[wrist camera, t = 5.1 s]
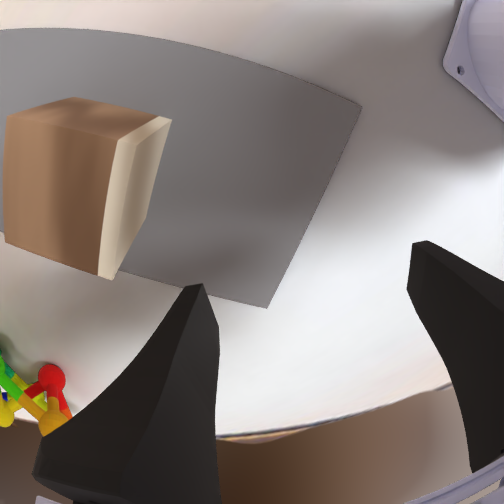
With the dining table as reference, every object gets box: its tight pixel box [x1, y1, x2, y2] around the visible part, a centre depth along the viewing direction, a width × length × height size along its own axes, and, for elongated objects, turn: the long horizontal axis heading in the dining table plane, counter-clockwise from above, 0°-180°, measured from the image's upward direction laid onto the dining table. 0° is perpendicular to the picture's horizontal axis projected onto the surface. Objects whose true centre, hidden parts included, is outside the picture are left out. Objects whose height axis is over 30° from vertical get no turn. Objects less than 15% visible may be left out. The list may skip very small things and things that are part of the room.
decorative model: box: [0, 350, 72, 436], centre depth 19 cm, size 13×9×15 cm
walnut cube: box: [3, 97, 172, 281], centre depth 11 cm, size 5×5×5 cm
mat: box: [0, 28, 362, 309], centre depth 13 cm, size 20×12×1 cm, turn 71°
